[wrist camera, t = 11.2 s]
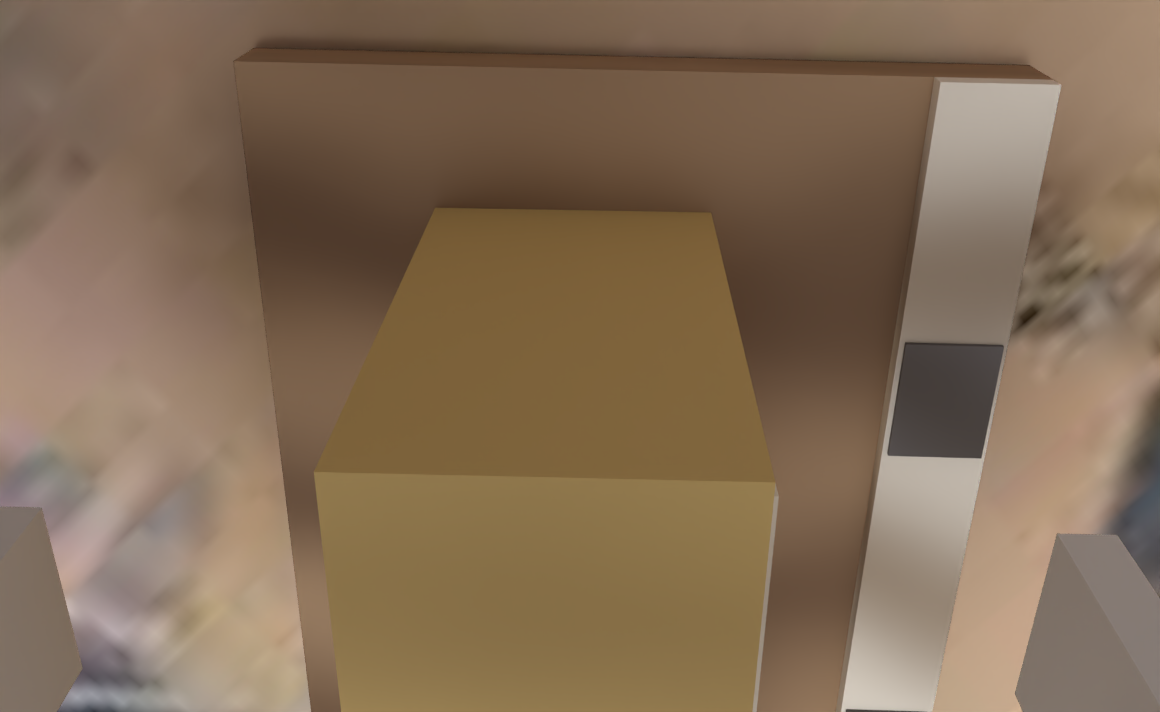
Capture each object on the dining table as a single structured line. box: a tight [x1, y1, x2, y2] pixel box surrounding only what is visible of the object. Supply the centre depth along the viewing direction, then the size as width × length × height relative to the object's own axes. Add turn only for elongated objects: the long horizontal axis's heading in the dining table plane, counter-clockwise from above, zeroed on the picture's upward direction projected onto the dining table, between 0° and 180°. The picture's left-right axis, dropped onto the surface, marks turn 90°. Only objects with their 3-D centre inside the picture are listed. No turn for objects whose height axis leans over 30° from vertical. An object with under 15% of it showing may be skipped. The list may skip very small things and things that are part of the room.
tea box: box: [314, 208, 779, 712], centre depth 18 cm, size 5×7×9 cm
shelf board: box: [233, 48, 1061, 712], centre depth 24 cm, size 20×14×2 cm
